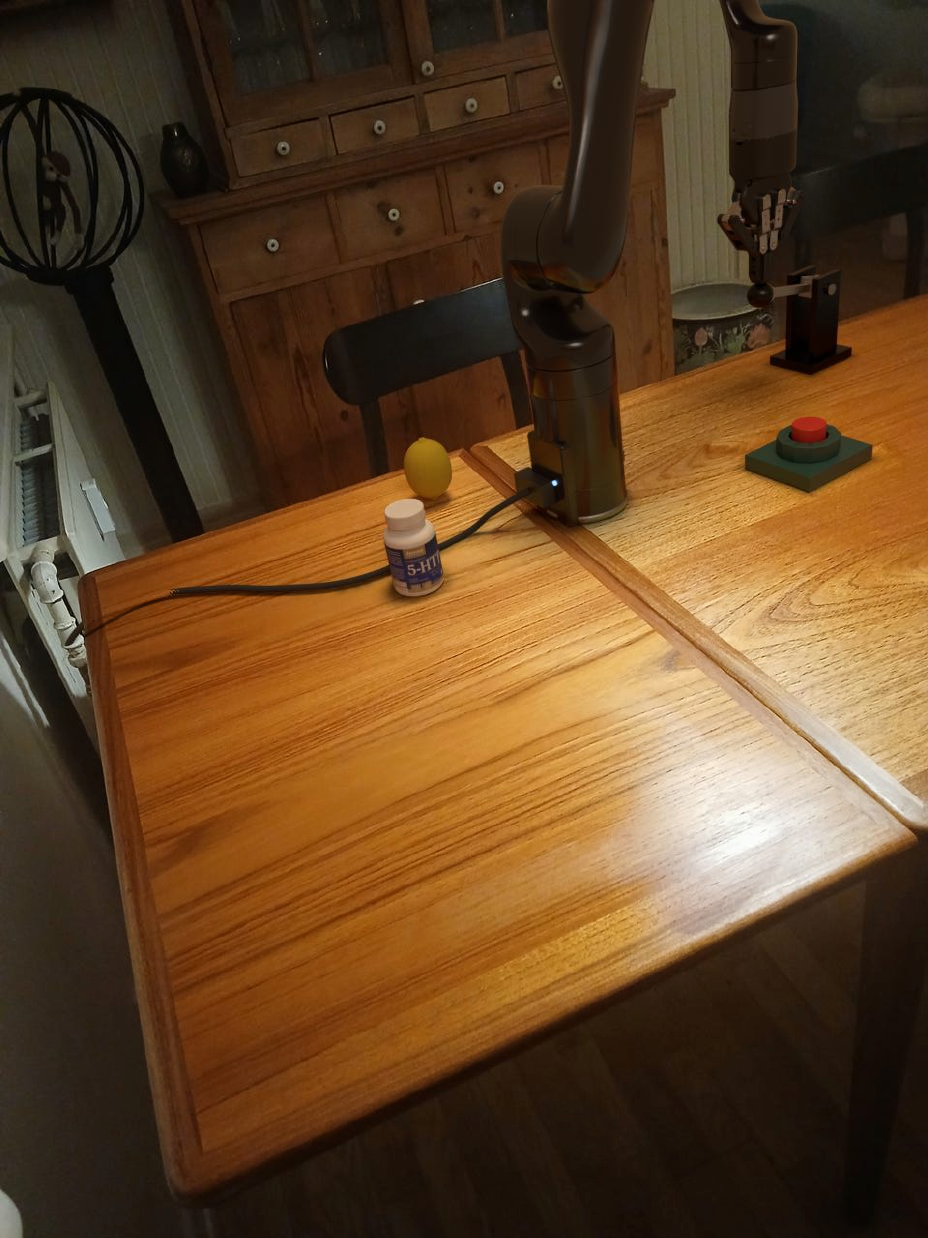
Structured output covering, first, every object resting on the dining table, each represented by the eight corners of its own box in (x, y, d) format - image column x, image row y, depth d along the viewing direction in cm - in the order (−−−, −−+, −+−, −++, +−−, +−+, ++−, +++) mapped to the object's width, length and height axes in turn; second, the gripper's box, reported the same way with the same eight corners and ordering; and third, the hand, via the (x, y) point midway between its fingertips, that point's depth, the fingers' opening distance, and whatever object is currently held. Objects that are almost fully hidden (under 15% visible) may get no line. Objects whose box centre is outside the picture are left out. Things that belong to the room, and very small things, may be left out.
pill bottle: (415, 603, 95) (398, 526, 90) (384, 587, 99) (366, 512, 94) (455, 579, 98) (440, 503, 93) (423, 564, 101) (407, 490, 96)
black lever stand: (810, 374, 126) (814, 284, 119) (769, 364, 131) (771, 277, 124) (851, 355, 129) (857, 266, 122) (809, 346, 134) (813, 260, 127)
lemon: (435, 485, 117) (423, 424, 112) (466, 495, 113) (455, 433, 109) (402, 504, 114) (388, 443, 109) (433, 515, 110) (420, 452, 106)
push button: (810, 448, 102) (811, 433, 101) (783, 439, 105) (784, 424, 104) (833, 436, 103) (834, 421, 102) (806, 428, 106) (807, 413, 105)
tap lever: (759, 311, 118) (762, 284, 117) (740, 307, 121) (743, 280, 119) (828, 299, 124) (832, 273, 123) (808, 295, 127) (812, 270, 125)
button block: (809, 492, 101) (810, 462, 99) (744, 468, 107) (744, 439, 105) (871, 458, 104) (874, 429, 102) (805, 437, 111) (806, 409, 109)
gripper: (777, 115, 114) (774, 263, 124) (696, 141, 109) (700, 292, 119) (829, 116, 109) (821, 270, 118) (746, 143, 104) (745, 301, 113)
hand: (760, 281), depth 119 cm, fingers closed
